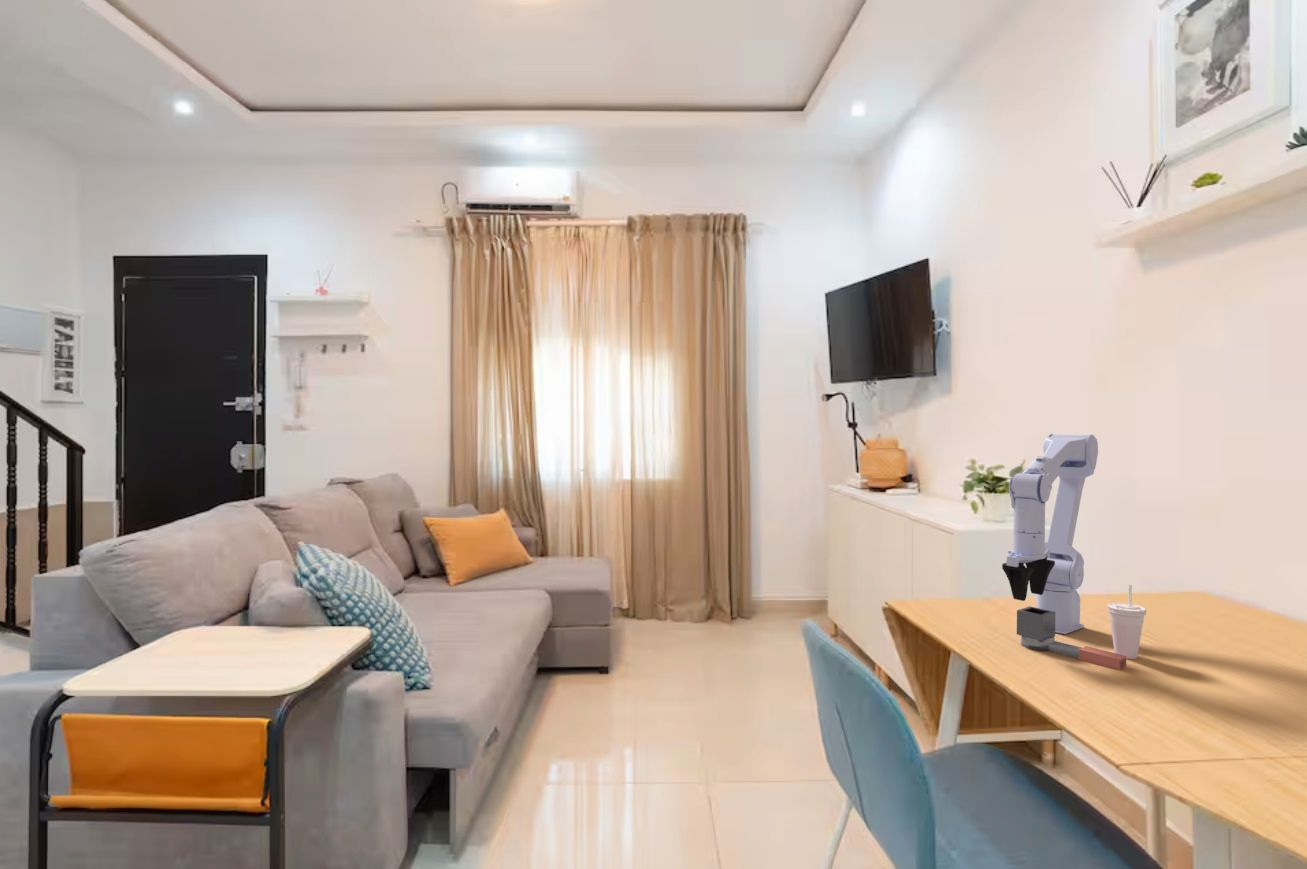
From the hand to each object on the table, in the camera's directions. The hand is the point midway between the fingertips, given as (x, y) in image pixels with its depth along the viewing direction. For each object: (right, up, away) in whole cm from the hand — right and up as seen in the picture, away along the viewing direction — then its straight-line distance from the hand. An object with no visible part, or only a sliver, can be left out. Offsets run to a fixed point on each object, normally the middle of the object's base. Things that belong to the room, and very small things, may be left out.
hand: (1028, 596), depth 147 cm
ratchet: (+5, -10, -7) cm, 13 cm away
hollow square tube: (+1, -8, -2) cm, 8 cm away
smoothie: (+15, -10, -8) cm, 20 cm away
